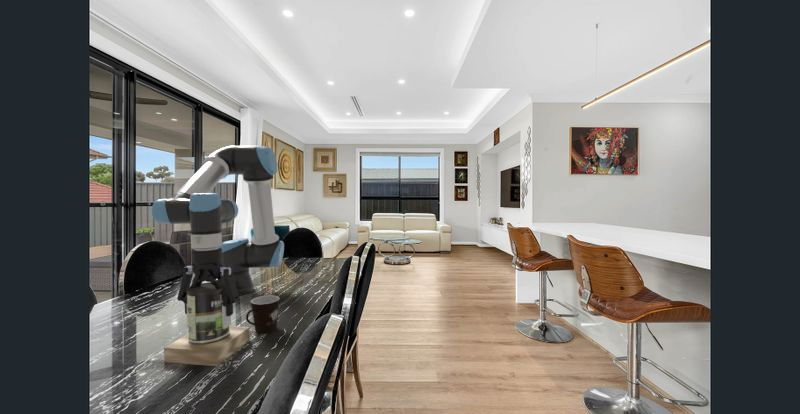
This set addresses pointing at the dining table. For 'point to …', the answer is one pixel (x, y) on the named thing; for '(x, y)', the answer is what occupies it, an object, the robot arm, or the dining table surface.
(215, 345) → the oak riser
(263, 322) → the coffee mug
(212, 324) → the coffee can
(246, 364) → the dining table surface
